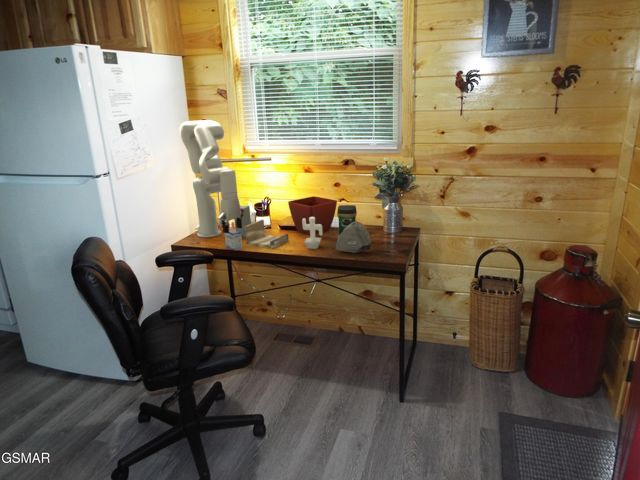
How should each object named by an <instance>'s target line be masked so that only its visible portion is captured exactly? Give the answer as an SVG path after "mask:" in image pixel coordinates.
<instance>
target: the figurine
mask: <svg viewBox="0 0 640 480" xmlns="http://www.w3.org/2000/svg"><path fill="white" fill-rule="evenodd" d="M309 221H310V224H306V219H305V218H303V220H302V223H303V229H304V230H310V235H309V237H307V238H305V240H304V244H305V246H306V248H307V249H308V250H317V249H318V248H319V245H320V242H321V240H322V237H316V235H315V230H319V234H318V235H319V236H323V232H322V225H321V224H315V217H310V218H309Z"/></svg>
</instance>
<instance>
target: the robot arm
mask: <svg viewBox="0 0 640 480" xmlns="http://www.w3.org/2000/svg"><path fill="white" fill-rule="evenodd" d="M179 135H180V138H181V141H182V143H183V144H184V146H185V149H186V151H187V155H188V159H189V163H190V167H191V170H192V172H193V173H194V175H201V176H198V177H196V178H194V180H193V181H192V188H193V191H194V195H195V200H196V201H195V202H196V208H197V216H198V224H197V225H196V227H195V230H197V231H198V232H197V233H196V234H197V237H199V238H214V237H218V236H220V235H221V234H222V232H223V233H224V234H225V233H229V230H230V229H229V221H231V220H234V219H235V218H236V219H237V220H236V227H237V228H242V217H243V212H244V210H243V209H240V206H241V204H240V199H239V195H238V188H237V187H238V186H237V177H236V174H237V173H236V171H235V170H234V169H232V168H230V167H228V166H223V163H222V160H221V158H220V156H219V155H218V154H219V153H220V147H219V144H218V141H220V140H222V139H223V138H224V137H225V130H224V127H223V126H222V125H221V124H220V123H219V122H217V121H214V120H211V119H206V120H205V119H204V120H203V119H202V120H188V121H184V122H182V123H181V124H180V125H179ZM216 193H217V194H218V193H220V195H221V199H220V203H219V204H220V205H219V206H220V207H219V209H220V210H219V213H220V214H219V216H218V217H217V207H216V201H215V199H214V198H213V197H212V196H211V194H216ZM218 221H219V223H220V224H221V225H222V231H221V230H220V229H219V227H218Z"/></svg>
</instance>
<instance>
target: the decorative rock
mask: <svg viewBox="0 0 640 480" xmlns="http://www.w3.org/2000/svg"><path fill="white" fill-rule="evenodd" d="M371 239H372V238H371V236H370V232H369V231H368V230H367V226H365V225H364V224H363V223H362V222H360V221H357V220H356V221H355V222H352V223H351V224H350V225H349V226H347V227H346V228H345V229H344V230H343V232H342V233H341V234H340V235H339V237H338V236H337V240H336V244H335V250H337V251H339V252H346V253H351V254H357V253H361V252H362V251H369V250H370V249H371V246H372V242H371Z"/></svg>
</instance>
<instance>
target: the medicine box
mask: <svg viewBox="0 0 640 480" xmlns="http://www.w3.org/2000/svg"><path fill="white" fill-rule="evenodd" d="M242 238H243V237H241V232H239V231H236V229H233V228H232V229H229V233H224V239H225V242H224V243H225V248H226V249H229V250H233V251H235V252H236V251H238V250H242V249H243V242H242V241H243V240H242Z"/></svg>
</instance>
